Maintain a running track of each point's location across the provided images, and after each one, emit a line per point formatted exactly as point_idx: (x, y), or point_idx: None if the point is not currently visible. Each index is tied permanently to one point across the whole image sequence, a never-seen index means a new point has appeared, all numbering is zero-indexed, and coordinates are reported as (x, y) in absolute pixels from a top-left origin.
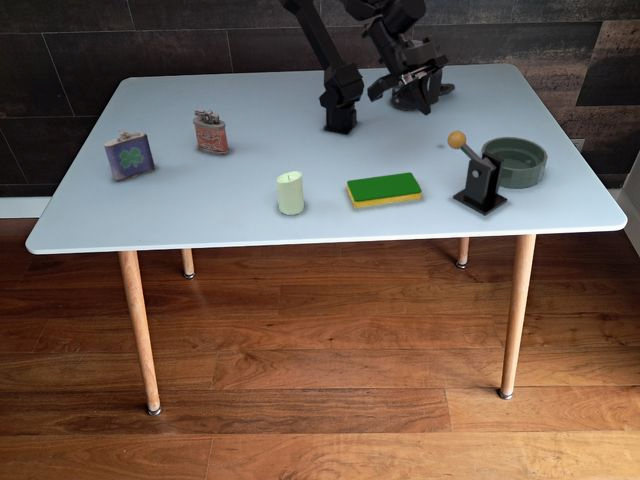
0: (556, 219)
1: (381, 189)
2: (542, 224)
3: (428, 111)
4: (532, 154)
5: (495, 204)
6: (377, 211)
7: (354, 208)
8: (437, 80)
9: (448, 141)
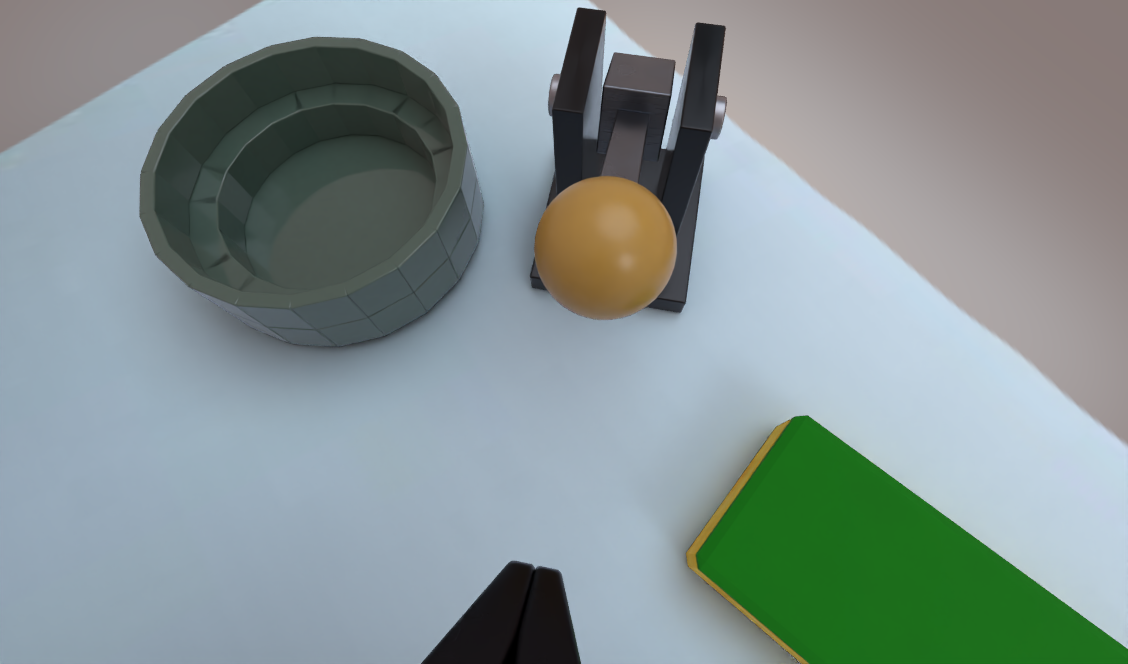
0: (547, 11)
1: (963, 605)
2: None
3: (545, 581)
4: (220, 151)
5: None
6: (1007, 549)
7: None
8: None
9: (663, 286)
